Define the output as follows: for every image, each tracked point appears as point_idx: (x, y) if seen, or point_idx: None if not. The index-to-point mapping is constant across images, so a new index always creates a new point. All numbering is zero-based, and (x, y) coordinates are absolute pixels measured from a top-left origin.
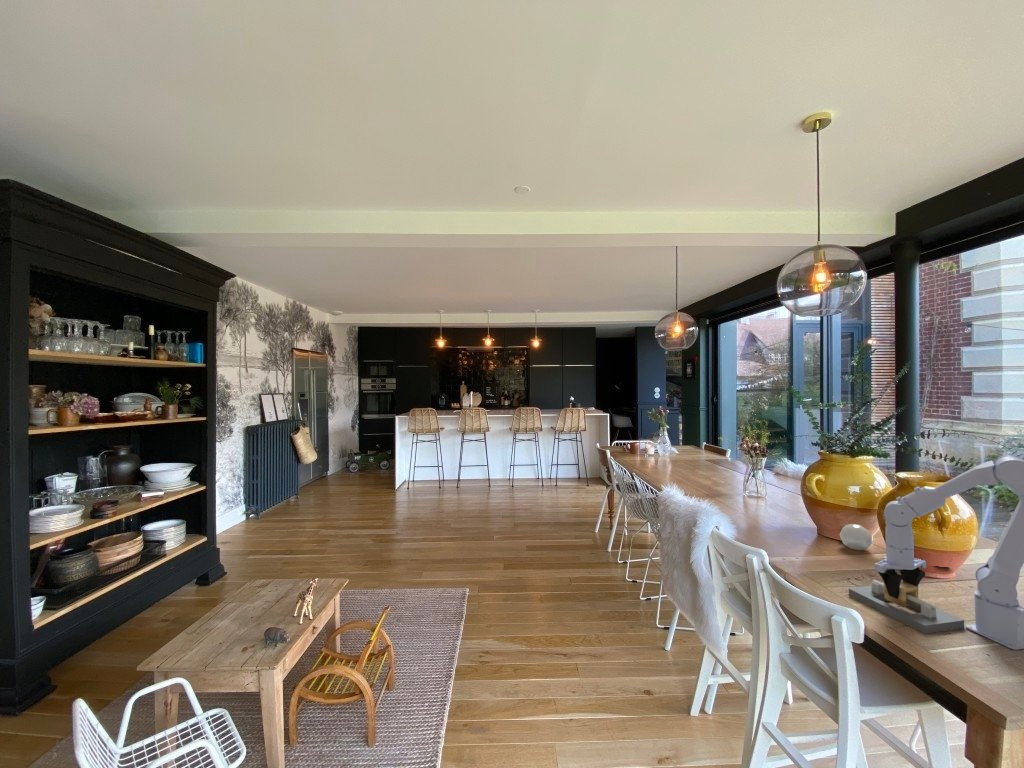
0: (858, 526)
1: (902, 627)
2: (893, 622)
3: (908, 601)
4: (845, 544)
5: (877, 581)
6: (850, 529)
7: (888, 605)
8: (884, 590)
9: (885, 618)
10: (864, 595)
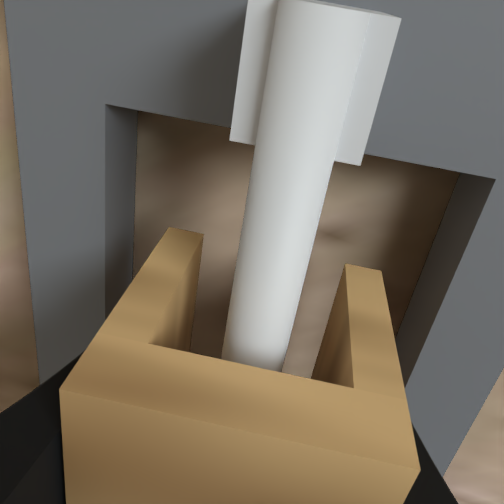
0: None
1: (13, 390)
2: (12, 343)
3: (314, 373)
4: None
5: (291, 100)
6: None
7: (79, 303)
8: (133, 281)
9: (4, 296)
10: (25, 61)
